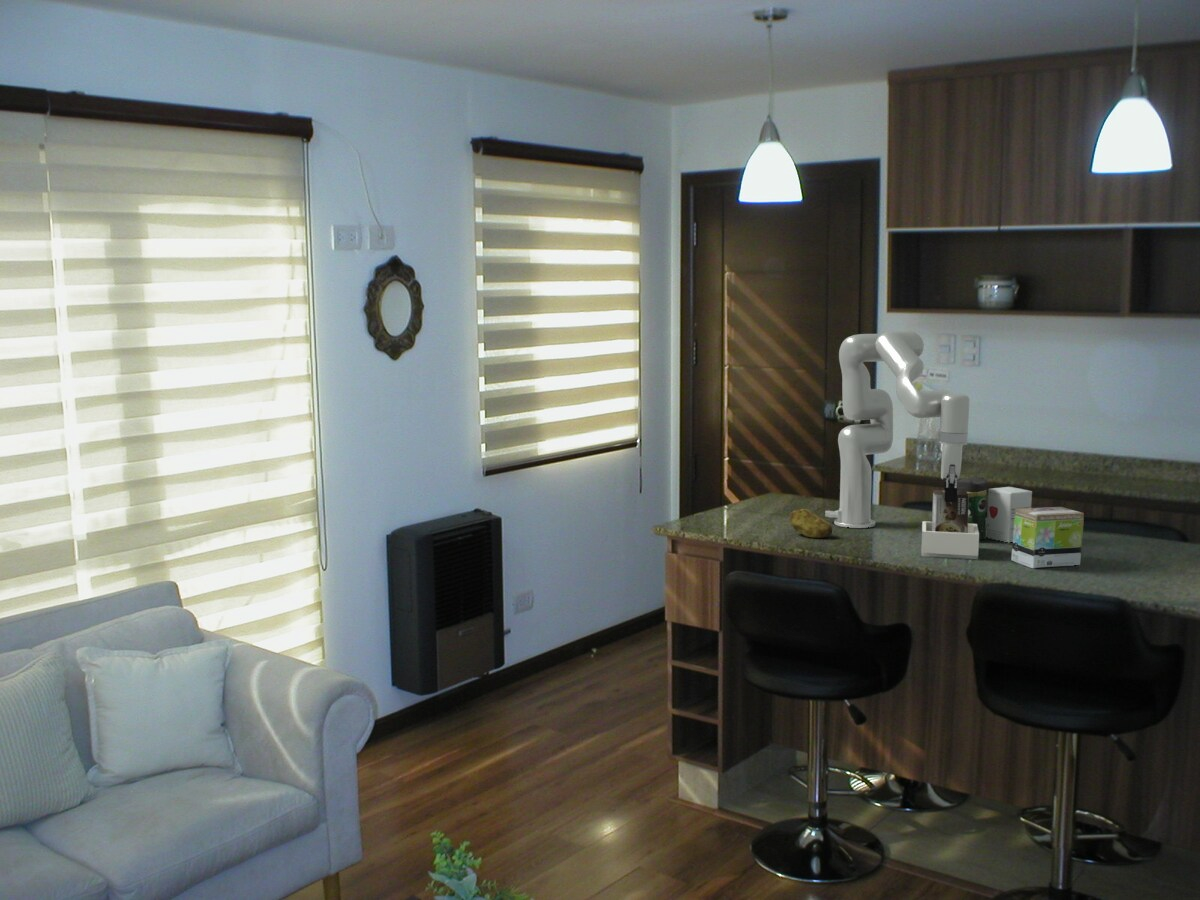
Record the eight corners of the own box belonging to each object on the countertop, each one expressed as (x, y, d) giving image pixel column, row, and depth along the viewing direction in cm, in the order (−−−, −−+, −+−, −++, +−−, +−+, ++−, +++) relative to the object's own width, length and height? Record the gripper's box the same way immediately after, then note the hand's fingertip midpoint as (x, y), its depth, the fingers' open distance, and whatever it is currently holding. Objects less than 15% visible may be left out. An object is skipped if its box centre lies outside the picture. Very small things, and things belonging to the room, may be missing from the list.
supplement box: (984, 537, 349) (987, 488, 347) (1006, 535, 353) (1009, 486, 351) (1008, 543, 341) (1010, 493, 339) (1030, 540, 345) (1032, 490, 343)
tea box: (1033, 569, 309) (1036, 514, 307) (1010, 561, 319) (1013, 507, 317) (1082, 565, 314) (1085, 511, 312) (1057, 557, 323) (1060, 505, 321)
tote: (921, 556, 325) (922, 531, 324) (921, 545, 339) (922, 521, 338) (978, 559, 321) (979, 534, 320) (975, 547, 335) (976, 523, 334)
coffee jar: (964, 534, 353) (967, 474, 351) (989, 538, 348) (992, 477, 345) (948, 539, 346) (951, 477, 344) (973, 543, 341) (976, 480, 338)
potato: (816, 541, 344) (817, 514, 343) (784, 534, 354) (784, 508, 353) (835, 537, 349) (836, 511, 348) (802, 531, 359) (803, 505, 358)
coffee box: (963, 546, 333) (966, 490, 331) (967, 551, 327) (969, 494, 324) (930, 545, 334) (932, 489, 332) (933, 550, 328) (935, 493, 326)
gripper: (939, 433, 335) (936, 492, 338) (939, 441, 318) (936, 503, 321) (966, 434, 333) (963, 493, 336) (968, 443, 317) (965, 505, 319)
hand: (950, 498), depth 328 cm, fingers open, 9 cm apart
